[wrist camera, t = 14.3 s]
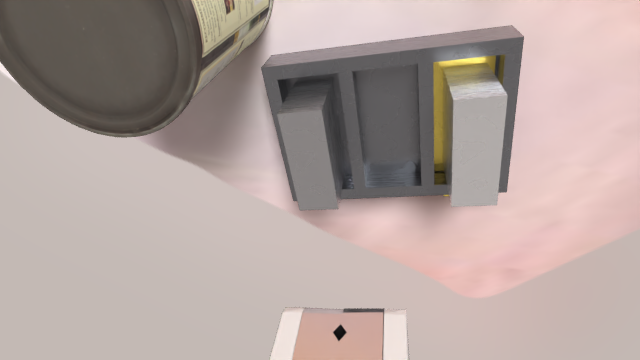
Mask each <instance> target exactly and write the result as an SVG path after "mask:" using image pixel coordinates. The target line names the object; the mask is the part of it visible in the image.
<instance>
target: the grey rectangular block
mask: <svg viewBox="0 0 640 360" xmlns="http://www.w3.org/2000/svg"><path fill="white" fill-rule="evenodd" d="M507 97H508V95H507V93H506V92H505V90H504V89H503V87H502V85H501V84H500V82H499V81H498V79H497V78H496V76H495V74H494V73H493V71H492V70H491V68H490V66H489V65H488V63H483V64H473V65H464V66H455V67H445V68H443V168H444V173H445V178H446V183H447V188H448V193H449V198H450V203H451V207H459V206H487V205H497V200H498V189H499V179H500V169H501V159H502V148H503V138H504V128H505V117H506V107H507Z"/></svg>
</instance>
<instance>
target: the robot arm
mask: <svg viewBox="0 0 640 360" xmlns="http://www.w3.org/2000/svg"><path fill="white" fill-rule="evenodd" d="M269 360H409V347H408V330H407V315H406V310H405V309H401V310H400V309H385V310H384V309H322V308H297V307H286V308H285V309H284V311H283V313H282V315H281V319H280V322H279V326H278V330H277V333H276V337H275V340H274V344H273V348H272V351H271V355H270V358H269Z"/></svg>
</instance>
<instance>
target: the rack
mask: <svg viewBox="0 0 640 360" xmlns="http://www.w3.org/2000/svg"><path fill="white" fill-rule="evenodd" d="M523 40H524V36H523V35H522V34H521V33H520V32H519V31H517V30H516V29H515V28H514V27H513V26H512V25H511V26H503V27H495V28H487V29H479V30H471V31H463V32H455V33H447V34H439V35H431V36H423V37H415V38H407V39H399V40H391V41H383V42H375V43H367V44H359V45H351V46H343V47H335V48H327V49H319V50H311V51H303V52H295V53H287V54H279V55H271V57H270V58H269V59H268V60H267V61H266V62H265V64H264V65H263V66H262V67H261V69H262V74H263V78H264V82H265V86H266V90H267V94H268V98H269V102H270V106H271V111H272V115H273V119H274V123H275V127H276V131H277V135H278V139H279V143H280V148H281V152H282V156H283V160H284V164H285V168H286V172H287V176H288V180H289V185H290V189H291V193H292V197H293V201H298V205H299V209H300V210H324V209H339V203H340V199H356V198H380V197H403V196H427V195H444V196H449V193H448V188H447V183H446V178H445V173H444V168H443V68H445V67H455V66H464V65H473V64H483V63H488V65H489V66H490V68H491V70H492V71H493V73H494V74H495V76H496V78H497V79H498V81H499V82H500V84H501V85H502V87H503V89H504V90H505V92H506V93H507V95H508V97H507V107H506V117H505V128H504V138H503V148H502V159H501V169H500V179H499V189H498V193H499V192H507V185H508V176H509V167H510V158H511V149H512V139H513V130H514V121H515V112H516V103H517V94H518V85H519V76H520V67H521V58H522V49H523Z"/></svg>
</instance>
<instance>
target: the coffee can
mask: <svg viewBox="0 0 640 360" xmlns="http://www.w3.org/2000/svg"><path fill="white" fill-rule="evenodd" d="M272 4H273V0H0V62H1V63H2V64H3V66H4V67H5V68H6V69H7V71H8V72H9V73H10V74H11V75H12V77H13V78H14V79H15V80H16V81H17V82H18V83H19V85H20V86H21V87H22V88H23V89H25V90H26V91H27V92H28V93H29V94H30V95H31V96H32V97H33V98H34V99H35V100H37V101H38V102H39V103H40V104H42V105H43V106H44V107H46V108H47V109H48V110H50V111H51V112H53V113H54V114H56V115H57V116H59V117H61V118H62V119H64V120H66V121H68V122H70V123H71V124H74V125H76V126H78V127H80V128H83V129H85V130H88V131H91V132H94V133H97V134H102V135H107V136H114V137H137V136H143V135H147V134H150V133H153V132H156V131H158V130H160V129H162V128H164V127H165V126H167V125H168V124H169V123H171V122H172V121H173V120H174V119H176V118H177V117H178V116H179V115H180V114H181V113H182V111H183V110H184V109H185V108H186V106H187V105H188V104H189V102H190V100H191V99H192V98H193V97H194V96H195V95H196V94H197V93H198V92H199V91H200V90H202V89H203V88H204V87H205V86H206V85H207V84H208V83H209V82H210V81H211V80H212V79H213V78H214V77H215V76H216V75H217V74H218V73H219V72H220V71H221V70H223V69H224V68H225V67H226V66H227V65H228V64H229V63H230V62H231V61H232V60H233V59H234V58H235V57H236V56H237V55H238V54H240V53H241V52H242V51H243V50H244V49H245V48H246V47H248V46H249V45H250V44H252V43H253V42H254V41H255V40H256V39H257V38H258V37H259V36H260V34H261V33H262V31H263V30H264V28H265V26H266V24H267V22H268V20H269V17H270V14H271V10H272Z"/></svg>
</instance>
